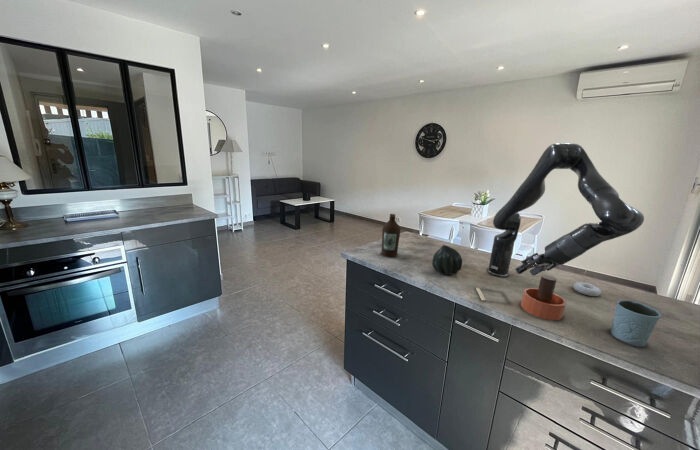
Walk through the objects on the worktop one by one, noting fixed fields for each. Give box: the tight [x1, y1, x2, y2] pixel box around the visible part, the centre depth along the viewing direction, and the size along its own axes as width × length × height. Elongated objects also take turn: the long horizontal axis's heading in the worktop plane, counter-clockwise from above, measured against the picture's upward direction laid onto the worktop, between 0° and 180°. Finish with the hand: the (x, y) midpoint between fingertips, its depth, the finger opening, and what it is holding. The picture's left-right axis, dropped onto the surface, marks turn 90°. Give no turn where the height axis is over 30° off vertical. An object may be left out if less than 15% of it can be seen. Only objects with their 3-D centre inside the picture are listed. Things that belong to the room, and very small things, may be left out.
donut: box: [572, 281, 602, 297], centre depth 123 cm, size 10×4×10 cm
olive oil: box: [381, 213, 401, 258], centre depth 157 cm, size 11×11×25 cm
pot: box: [520, 287, 567, 321], centre depth 105 cm, size 14×14×6 cm
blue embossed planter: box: [610, 299, 662, 348], centre depth 89 cm, size 10×10×12 cm
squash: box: [431, 244, 463, 276], centre depth 138 cm, size 14×15×15 cm
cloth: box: [475, 287, 487, 302], centre depth 115 cm, size 11×11×1 cm
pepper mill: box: [536, 274, 558, 304], centre depth 103 cm, size 5×5×14 cm
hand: (524, 272), depth 98 cm, fingers open, 8 cm apart
